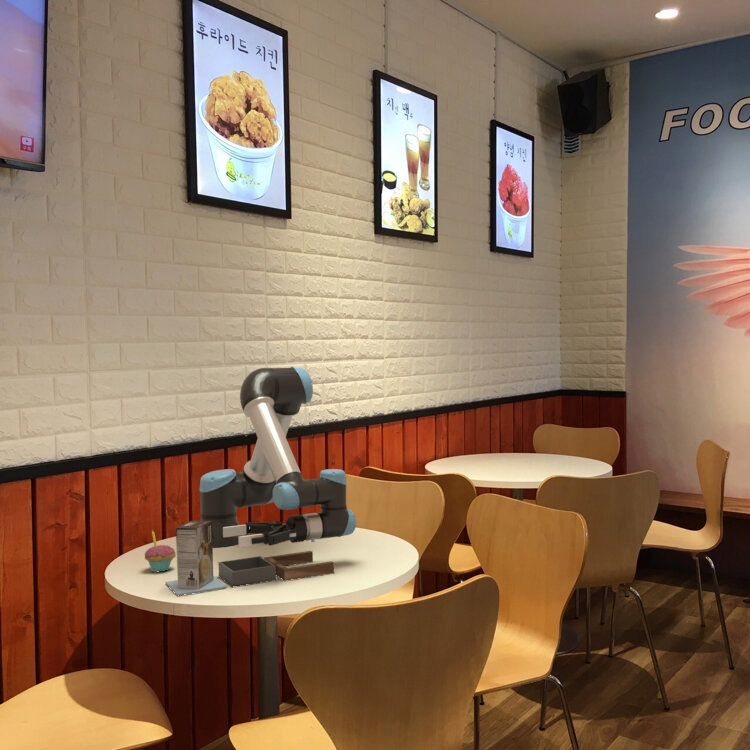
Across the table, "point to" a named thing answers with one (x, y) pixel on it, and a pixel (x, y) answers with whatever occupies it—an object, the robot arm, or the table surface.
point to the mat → (209, 586)
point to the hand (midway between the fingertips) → (230, 537)
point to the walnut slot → (299, 571)
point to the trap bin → (247, 571)
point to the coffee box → (194, 554)
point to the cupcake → (159, 556)
